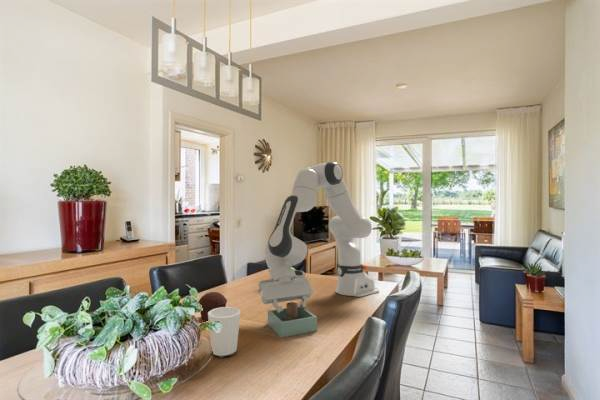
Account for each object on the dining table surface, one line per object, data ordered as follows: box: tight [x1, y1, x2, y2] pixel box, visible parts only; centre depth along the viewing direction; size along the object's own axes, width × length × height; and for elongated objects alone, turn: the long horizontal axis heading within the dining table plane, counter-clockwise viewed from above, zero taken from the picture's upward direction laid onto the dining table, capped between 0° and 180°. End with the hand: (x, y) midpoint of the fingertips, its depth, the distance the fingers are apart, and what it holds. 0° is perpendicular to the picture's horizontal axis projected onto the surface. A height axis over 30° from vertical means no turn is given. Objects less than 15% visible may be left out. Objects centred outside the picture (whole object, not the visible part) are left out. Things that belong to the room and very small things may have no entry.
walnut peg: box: [286, 301, 298, 321], centre depth 123 cm, size 4×4×8 cm
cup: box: [208, 306, 241, 359], centre depth 102 cm, size 10×10×13 cm
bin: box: [267, 305, 318, 338], centre depth 123 cm, size 14×14×5 cm
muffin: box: [198, 291, 228, 322], centre depth 132 cm, size 12×11×10 cm
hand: (292, 310), depth 122 cm, fingers open, 8 cm apart
